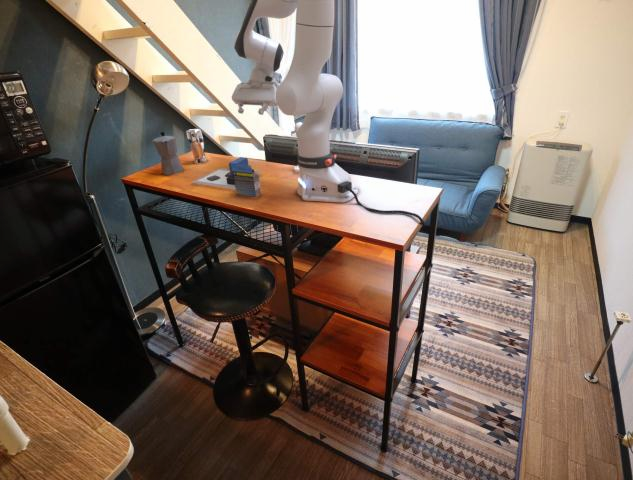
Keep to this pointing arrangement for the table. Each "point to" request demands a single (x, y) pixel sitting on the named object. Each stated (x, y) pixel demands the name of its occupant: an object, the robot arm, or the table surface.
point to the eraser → (238, 162)
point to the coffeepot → (168, 154)
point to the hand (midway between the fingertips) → (250, 113)
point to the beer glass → (196, 145)
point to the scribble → (213, 178)
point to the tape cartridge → (246, 181)
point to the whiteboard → (219, 182)
